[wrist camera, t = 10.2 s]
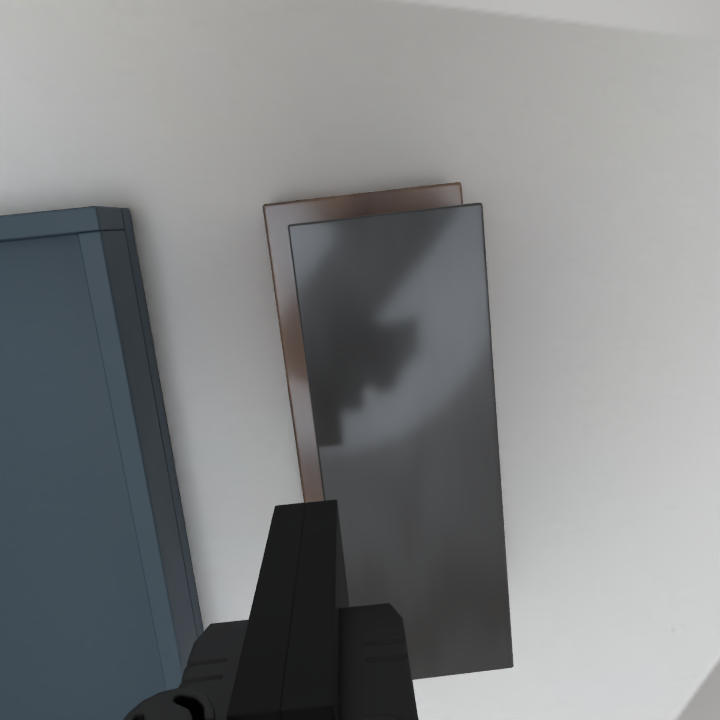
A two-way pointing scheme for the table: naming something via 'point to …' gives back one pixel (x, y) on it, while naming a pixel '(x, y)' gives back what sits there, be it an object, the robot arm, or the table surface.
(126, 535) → the tray
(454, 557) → the two-tone stacked slabs
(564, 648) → the table surface
